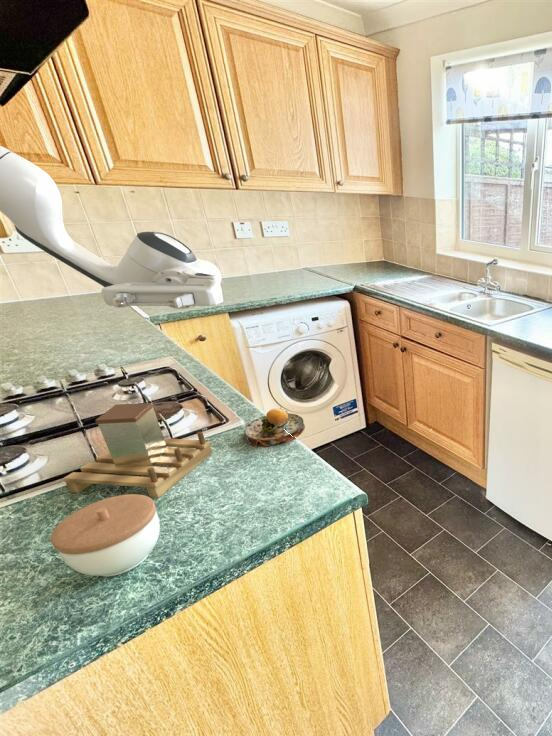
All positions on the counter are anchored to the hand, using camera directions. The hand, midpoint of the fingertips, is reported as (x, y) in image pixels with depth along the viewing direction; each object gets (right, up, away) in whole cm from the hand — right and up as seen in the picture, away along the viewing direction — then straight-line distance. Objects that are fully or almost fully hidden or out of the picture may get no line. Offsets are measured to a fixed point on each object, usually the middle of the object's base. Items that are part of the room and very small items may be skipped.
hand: (145, 303), depth 83 cm
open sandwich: (+20, -27, +11) cm, 35 cm away
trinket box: (+16, -42, -22) cm, 50 cm away
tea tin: (+4, -30, -5) cm, 31 cm away
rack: (+4, -33, -4) cm, 33 cm away
